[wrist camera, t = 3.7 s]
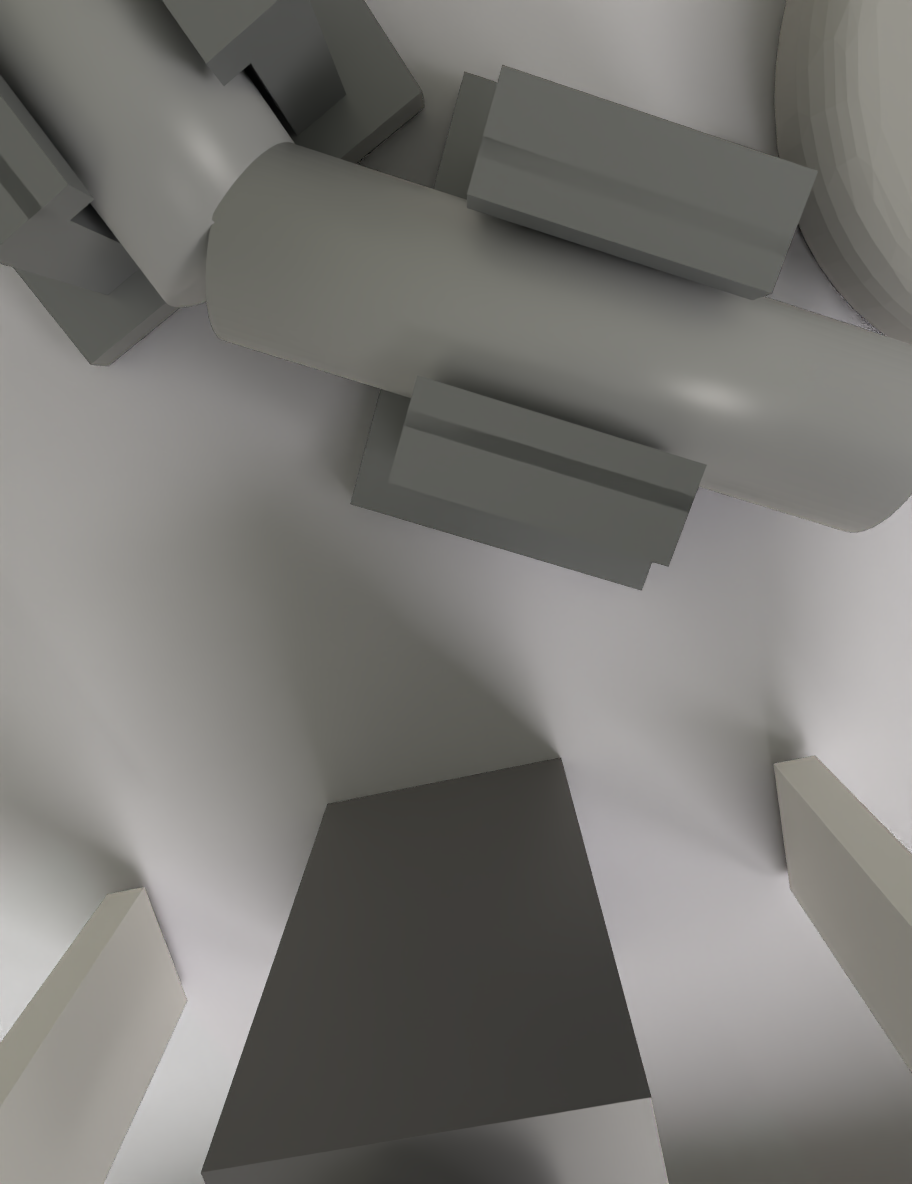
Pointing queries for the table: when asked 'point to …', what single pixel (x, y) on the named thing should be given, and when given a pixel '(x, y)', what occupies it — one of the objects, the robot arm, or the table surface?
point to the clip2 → (166, 137)
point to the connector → (443, 1005)
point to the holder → (853, 146)
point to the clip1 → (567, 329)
